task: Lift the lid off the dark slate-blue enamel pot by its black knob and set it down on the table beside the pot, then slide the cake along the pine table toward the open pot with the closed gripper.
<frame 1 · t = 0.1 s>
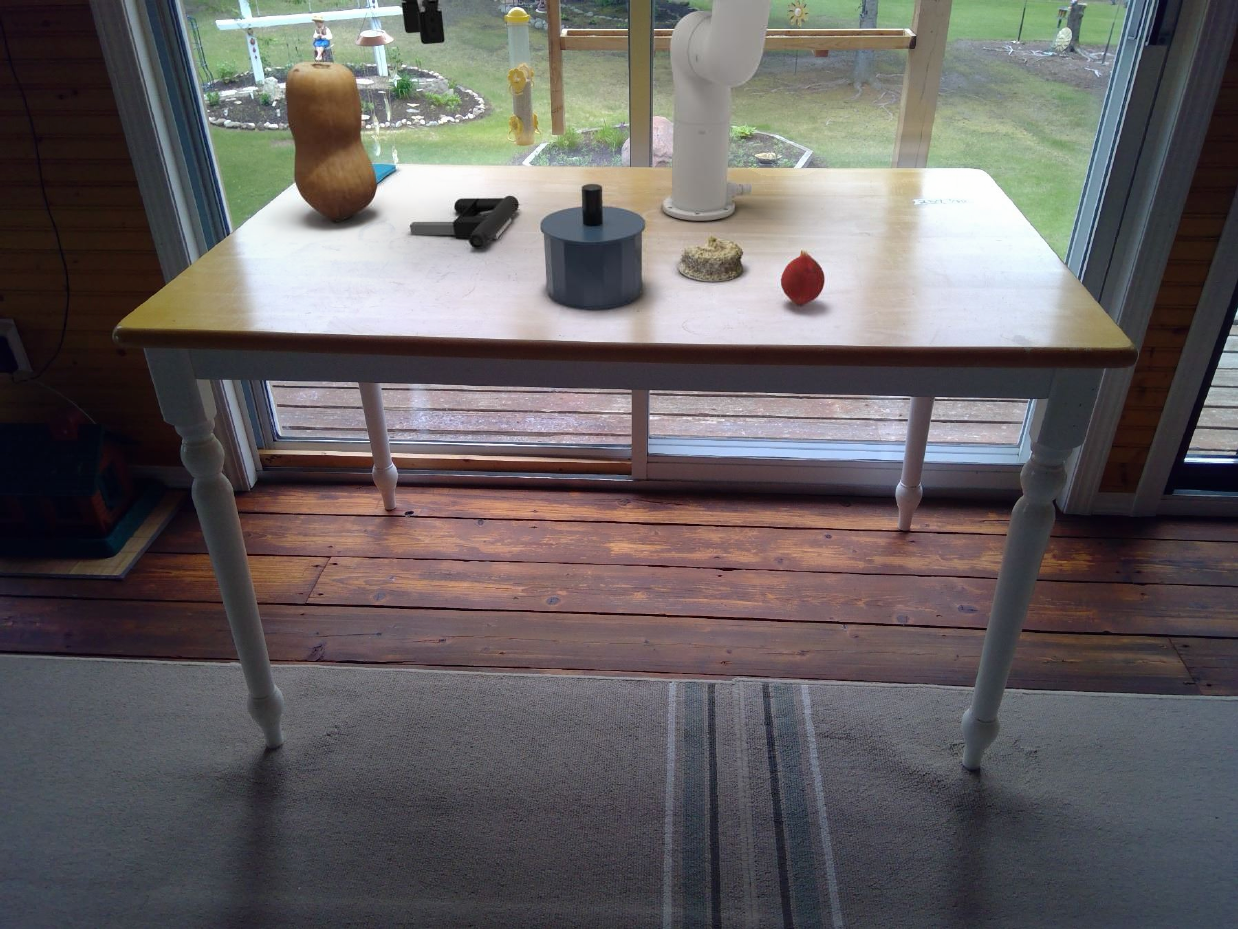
hand: (424, 37, 133), 31 cm above the table, tool pointing down, fingers open, 9 cm apart
onion: (799, 307, 131), on the table
cake: (710, 270, 142), on the table
butternut squash: (341, 217, 163), on the table
door handle: (465, 230, 158), on the table
pot: (594, 290, 136), on the table
pot lid: (592, 226, 131), point 9 cm above the table, touching pot
sponge: (371, 178, 182), on the table
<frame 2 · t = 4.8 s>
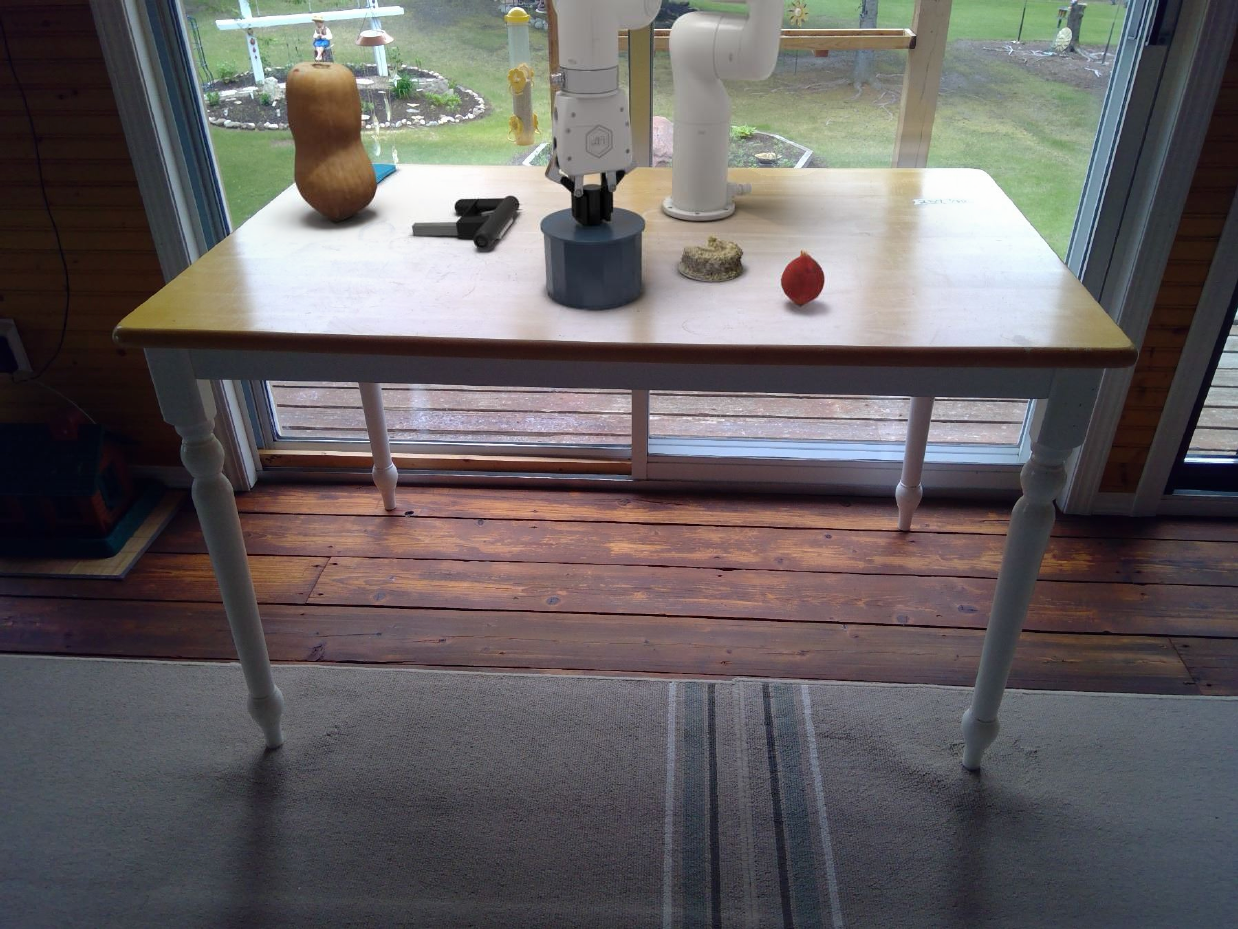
hand: (592, 219, 130), 11 cm above the table, tool pointing down, fingers closed on pot lid, 2 cm apart
pot lid: (592, 226, 131), point 10 cm above the table, touching gripper, pot
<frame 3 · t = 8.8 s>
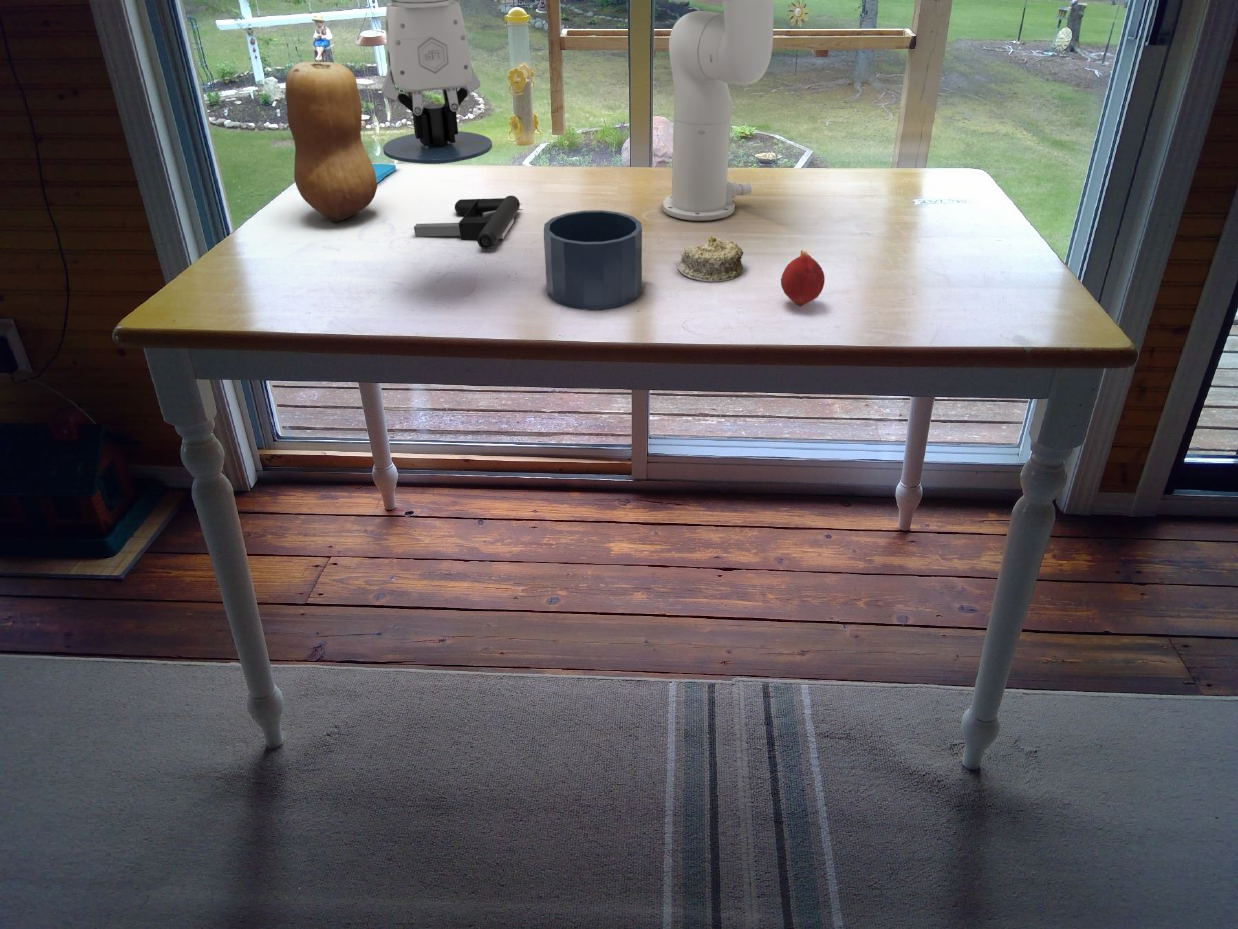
hand: (437, 140, 127), 21 cm above the table, tool pointing down, fingers closed on pot lid, 2 cm apart
pot lid: (438, 148, 127), point 20 cm above the table, touching gripper
when the fingers open (2 cm above the table, at t = 13.0 s): pot lid stays where it is, point 1 cm above the table.
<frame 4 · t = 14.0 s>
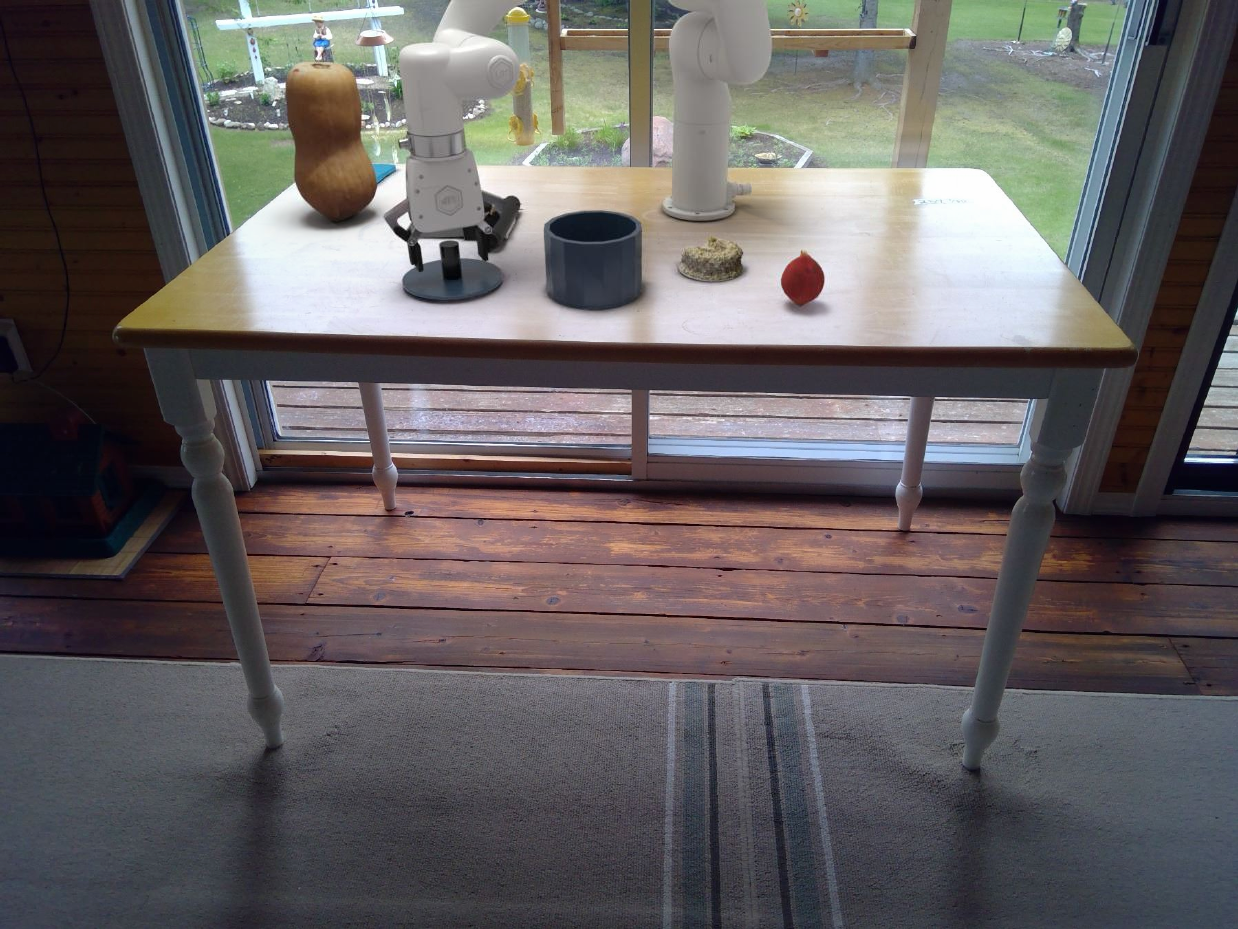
hand: (451, 263, 137), 3 cm above the table, tool pointing down, fingers open, 9 cm apart
pot lid: (452, 279, 138), point 1 cm above the table
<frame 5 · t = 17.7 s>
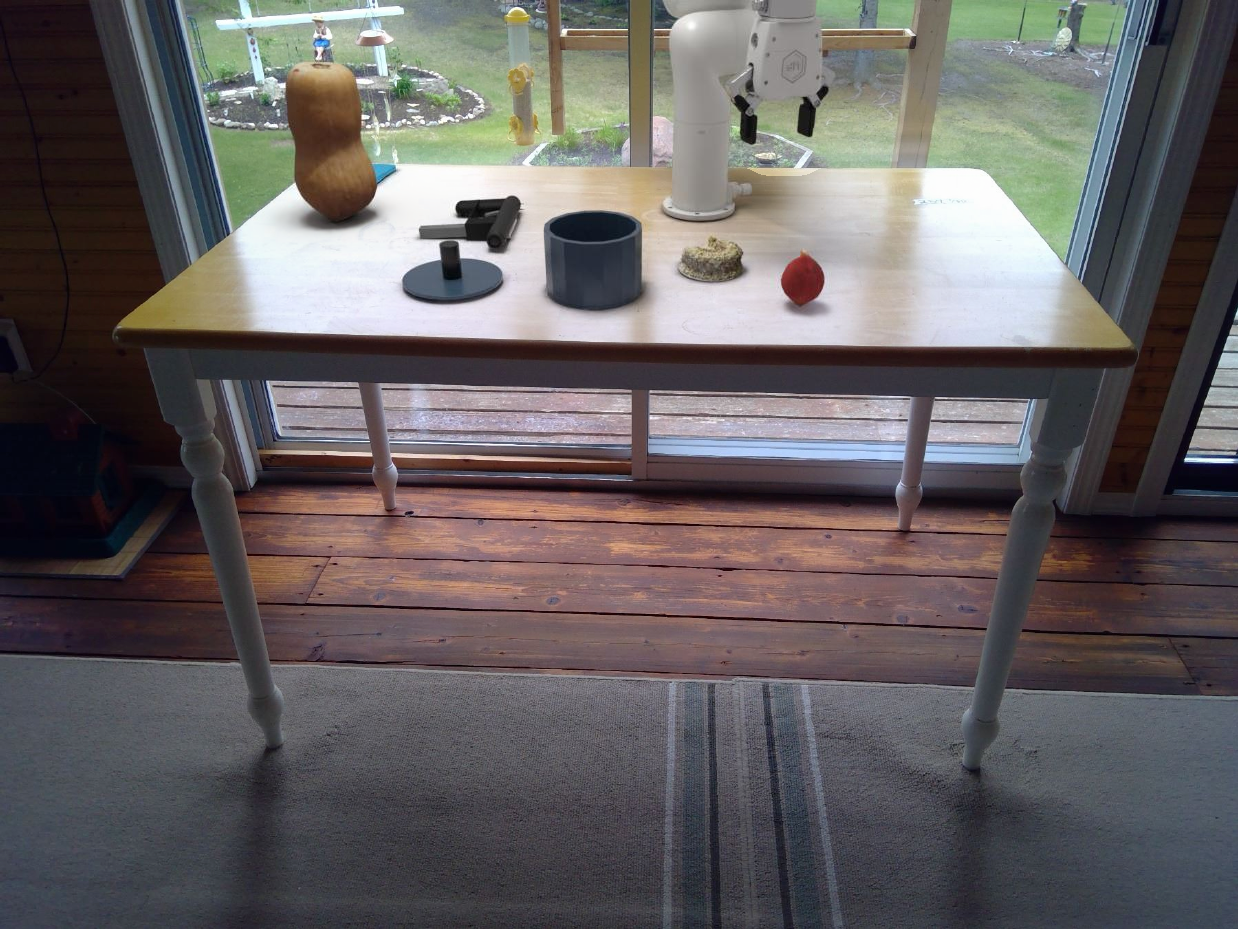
hand: (776, 138, 135), 18 cm above the table, tool pointing down, fingers open, 9 cm apart
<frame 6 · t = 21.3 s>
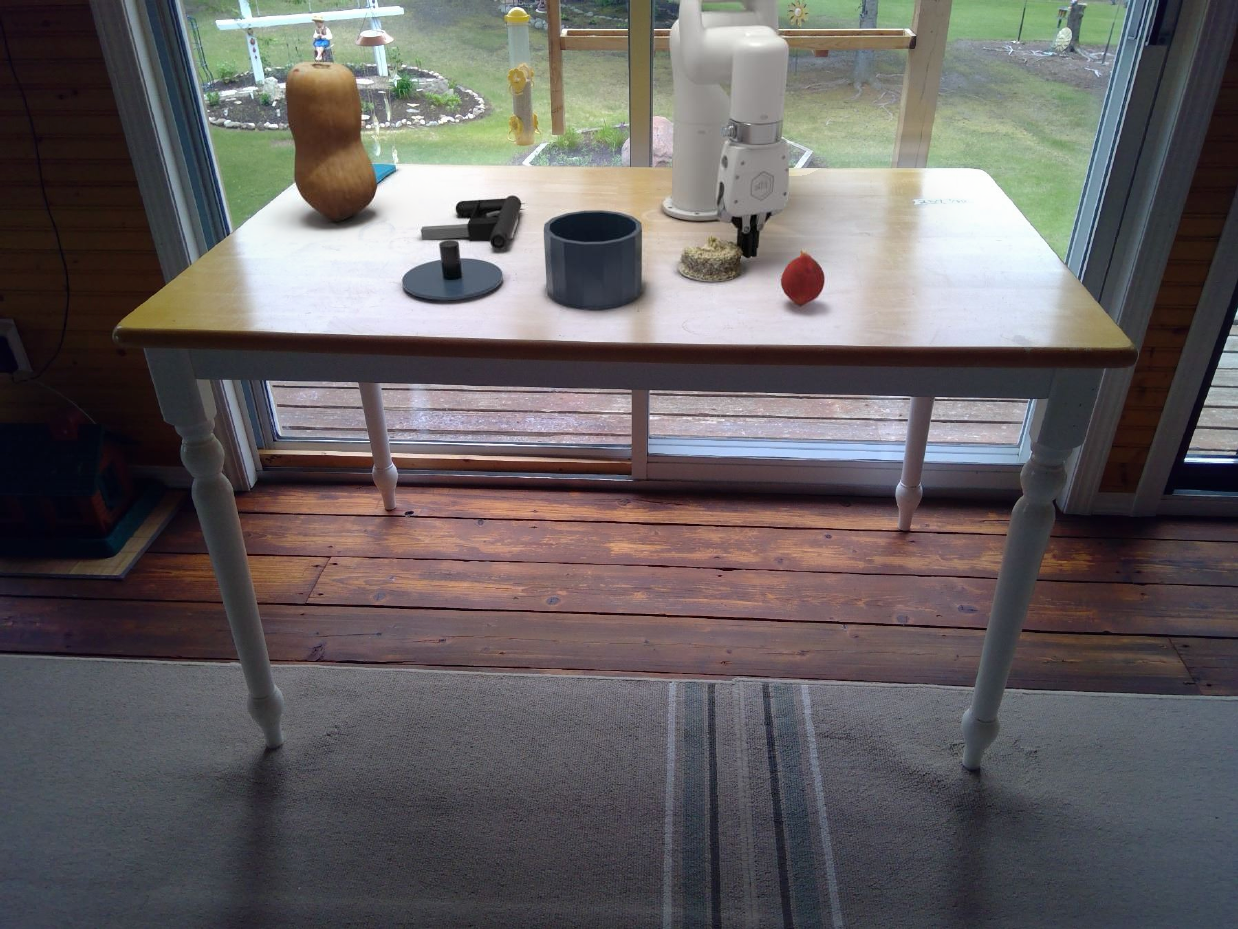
hand: (746, 254, 143), 1 cm above the table, tool pointing down, fingers closed
cake: (710, 270, 142), on the table, touching gripper
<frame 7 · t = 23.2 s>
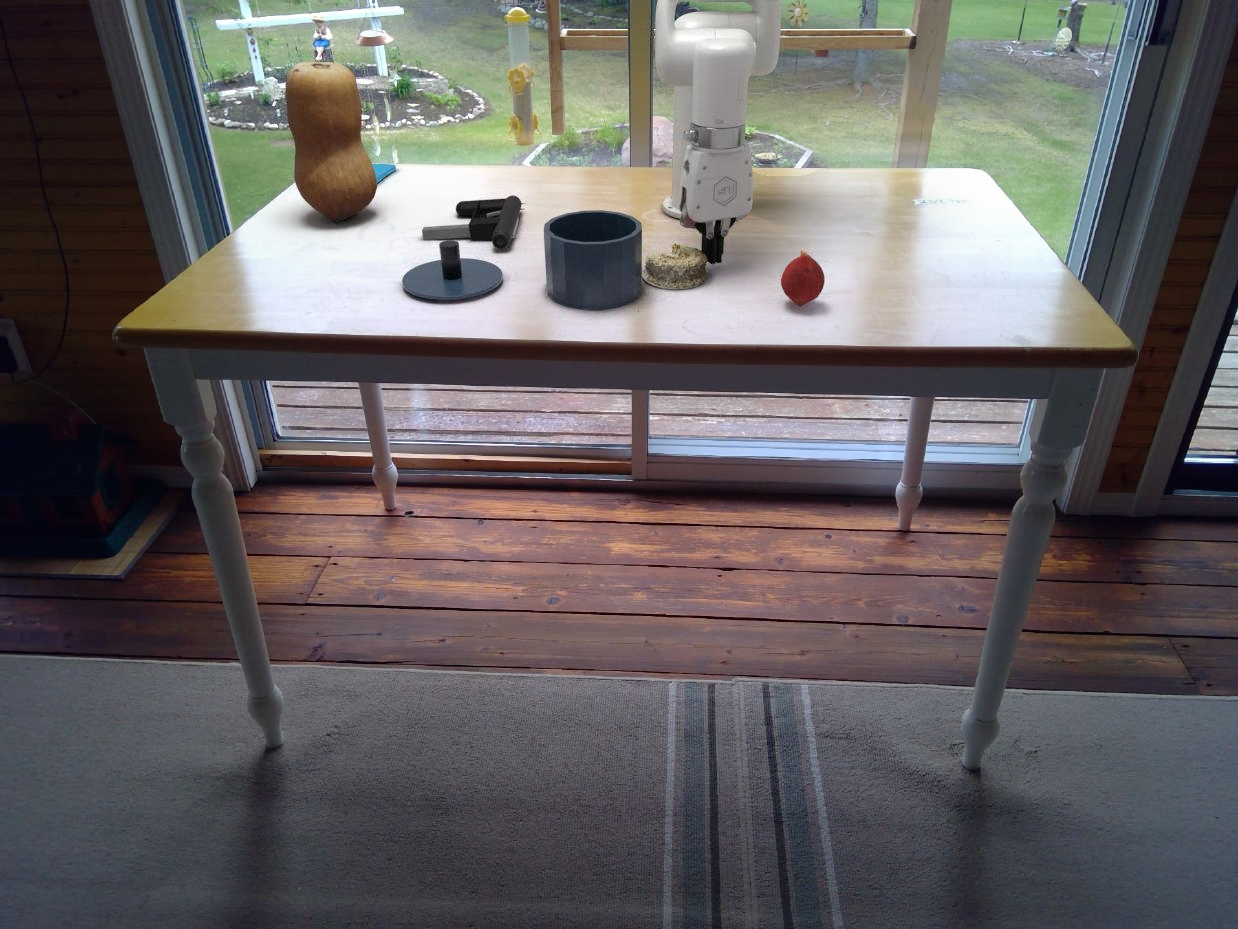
hand: (711, 260, 141), 1 cm above the table, tool pointing down, fingers closed
cake: (674, 277, 140), on the table, touching gripper
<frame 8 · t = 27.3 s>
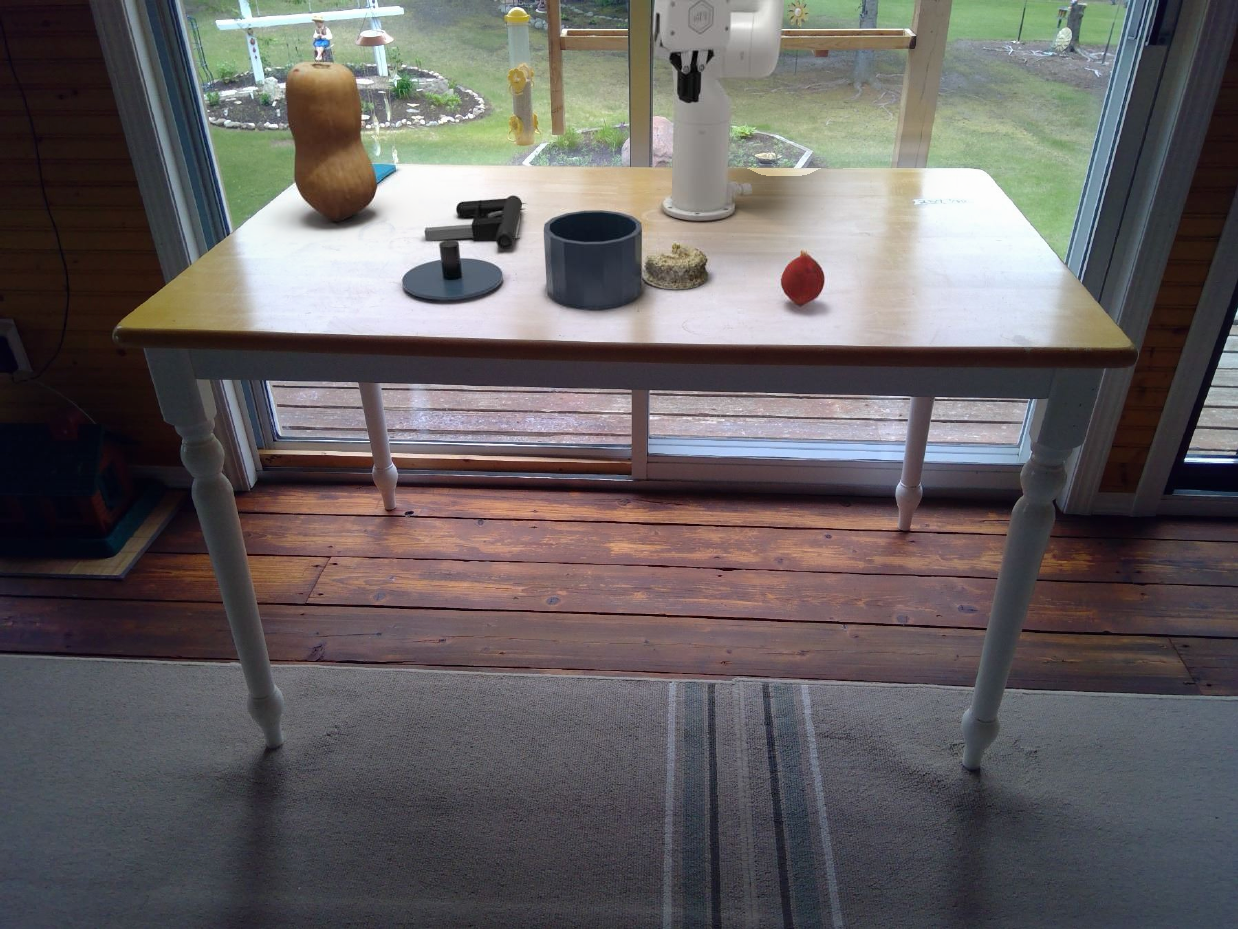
hand: (688, 100, 134), 23 cm above the table, tool pointing down, fingers closed
cake: (674, 277, 140), on the table
at the end: pot lid inside the target area (0.0 cm from its centre), point 0.6 cm above the table; cake 12.8 cm from the pot (horizontally); cake moved 6.2 cm from its start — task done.
